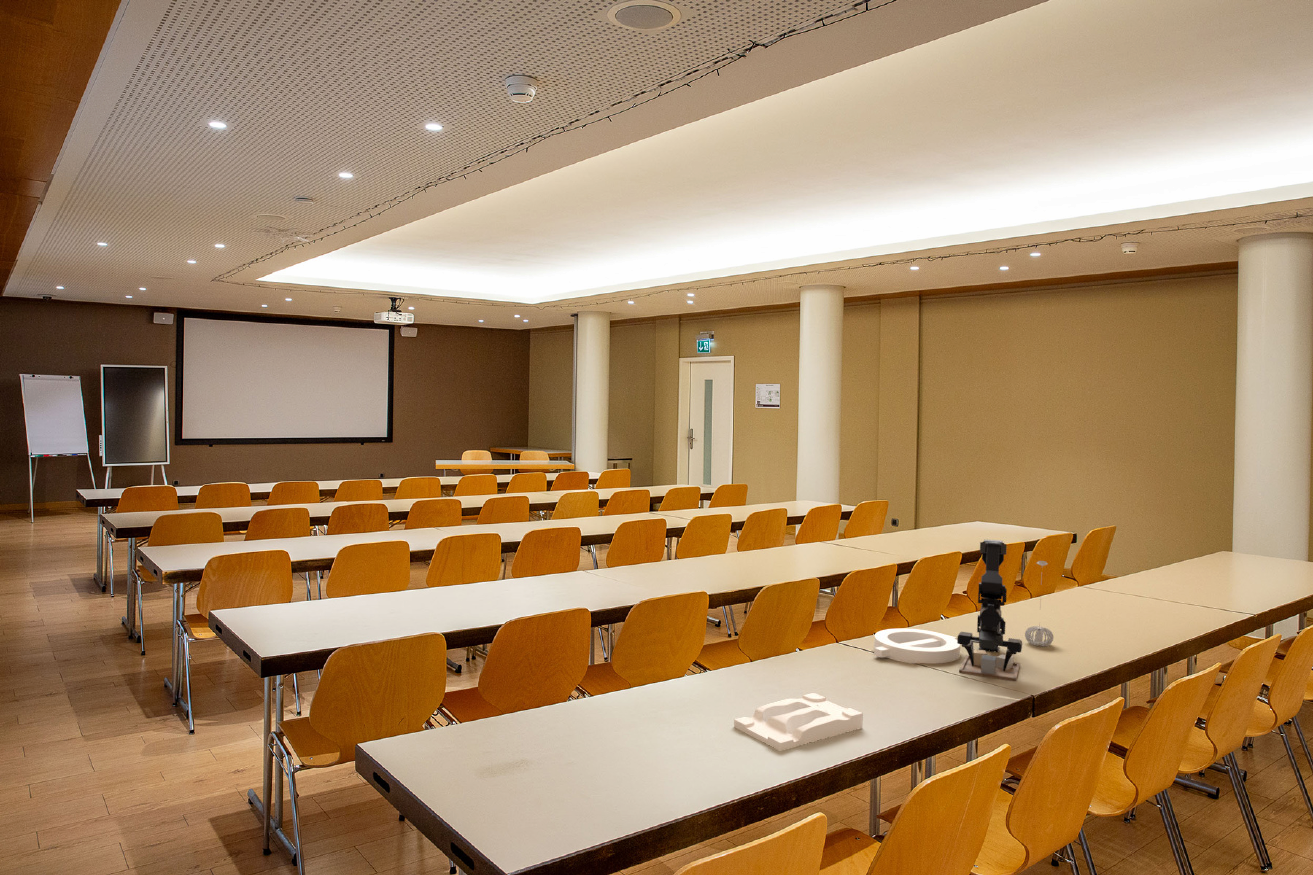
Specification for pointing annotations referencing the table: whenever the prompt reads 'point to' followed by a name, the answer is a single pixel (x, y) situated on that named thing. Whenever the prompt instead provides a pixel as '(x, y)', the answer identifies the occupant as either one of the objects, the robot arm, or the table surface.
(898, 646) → the ring with crossbar
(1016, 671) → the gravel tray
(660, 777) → the table surface
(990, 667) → the grey cube block
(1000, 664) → the beige cube
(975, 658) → the tan cube
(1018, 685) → the table surface
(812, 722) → the mold
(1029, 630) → the pendant light
